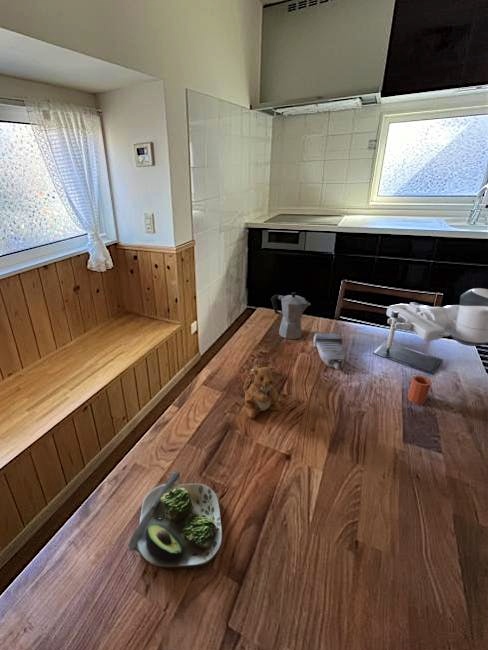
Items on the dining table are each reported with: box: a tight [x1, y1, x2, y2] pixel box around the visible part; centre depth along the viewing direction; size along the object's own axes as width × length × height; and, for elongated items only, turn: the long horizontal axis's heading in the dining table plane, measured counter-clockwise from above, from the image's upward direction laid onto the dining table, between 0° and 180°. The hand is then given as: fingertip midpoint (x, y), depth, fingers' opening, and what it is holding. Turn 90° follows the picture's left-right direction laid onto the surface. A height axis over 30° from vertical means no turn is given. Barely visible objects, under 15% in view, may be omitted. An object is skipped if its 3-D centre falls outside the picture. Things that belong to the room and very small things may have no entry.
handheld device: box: [312, 332, 347, 371], centre depth 118 cm, size 10×20×5 cm, turn 173°
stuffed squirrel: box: [243, 363, 282, 419], centre depth 97 cm, size 10×14×13 cm
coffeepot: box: [270, 291, 311, 340], centre depth 131 cm, size 15×9×18 cm, turn 53°
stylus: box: [386, 311, 399, 350], centre depth 116 cm, size 1×1×15 cm
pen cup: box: [407, 375, 433, 405], centre depth 95 cm, size 4×4×7 cm
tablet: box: [372, 340, 443, 376], centre depth 115 cm, size 18×11×1 cm, turn 42°
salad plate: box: [127, 470, 223, 570], centre depth 68 cm, size 19×18×5 cm
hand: (391, 323), depth 115 cm, fingers closed on stylus, 1 cm apart
